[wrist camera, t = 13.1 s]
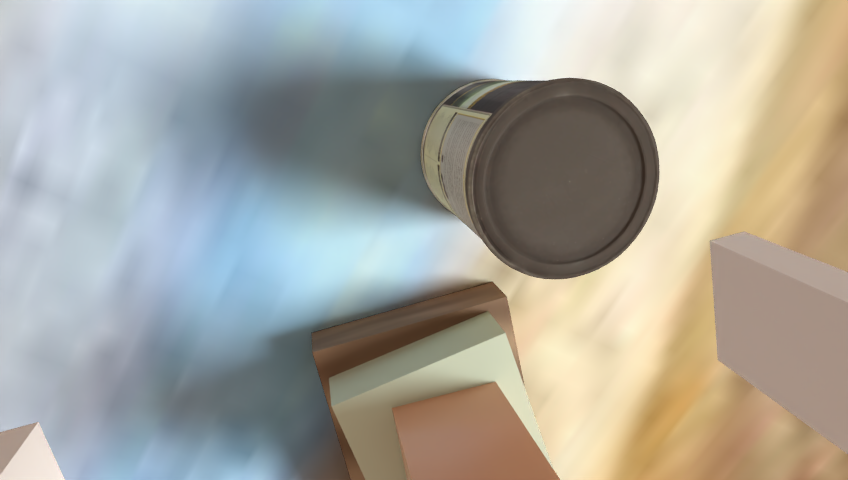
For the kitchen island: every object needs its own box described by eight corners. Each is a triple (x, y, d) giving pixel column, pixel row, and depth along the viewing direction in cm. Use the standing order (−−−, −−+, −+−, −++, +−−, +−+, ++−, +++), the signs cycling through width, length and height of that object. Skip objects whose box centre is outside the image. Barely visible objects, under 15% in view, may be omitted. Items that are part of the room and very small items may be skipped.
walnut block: (311, 330, 47) (312, 352, 43) (490, 279, 49) (506, 296, 45) (358, 486, 51) (362, 519, 47) (522, 434, 53) (539, 462, 49)
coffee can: (487, 46, 44) (570, 32, 30) (584, 147, 47) (698, 174, 33) (387, 157, 44) (425, 192, 31) (489, 250, 47) (563, 317, 34)
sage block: (328, 377, 44) (331, 406, 40) (488, 311, 45) (505, 332, 41) (390, 511, 47) (398, 549, 44) (536, 446, 48) (556, 478, 44)
